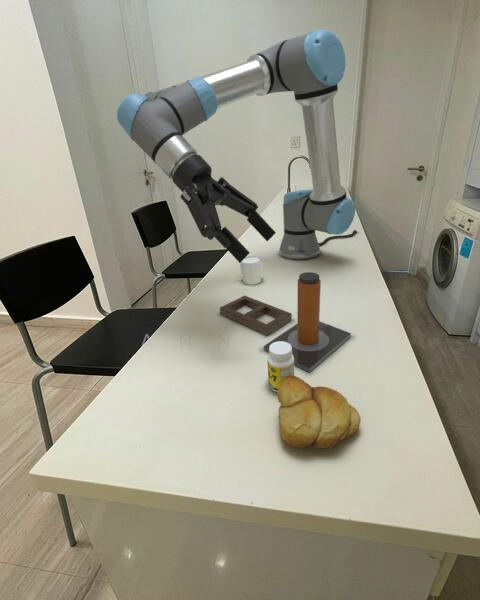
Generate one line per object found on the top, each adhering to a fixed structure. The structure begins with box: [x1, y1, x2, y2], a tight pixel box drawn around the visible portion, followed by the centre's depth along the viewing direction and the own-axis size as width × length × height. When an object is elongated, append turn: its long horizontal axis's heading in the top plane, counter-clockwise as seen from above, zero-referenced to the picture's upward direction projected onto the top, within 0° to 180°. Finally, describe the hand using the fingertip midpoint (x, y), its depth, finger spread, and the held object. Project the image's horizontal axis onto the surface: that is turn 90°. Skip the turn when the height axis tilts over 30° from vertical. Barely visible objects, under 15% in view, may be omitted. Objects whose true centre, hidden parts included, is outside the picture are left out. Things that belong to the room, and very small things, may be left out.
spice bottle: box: [297, 271, 322, 345], centre depth 69 cm, size 5×5×15 cm
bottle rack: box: [219, 295, 293, 337], centre depth 83 cm, size 9×16×2 cm, turn 49°
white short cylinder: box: [239, 256, 263, 286], centre depth 103 cm, size 7×7×7 cm
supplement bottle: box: [267, 341, 295, 393], centre depth 59 cm, size 5×5×8 cm
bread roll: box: [276, 375, 362, 449], centre depth 50 cm, size 13×10×8 cm
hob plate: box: [263, 320, 352, 373], centre depth 73 cm, size 16×12×1 cm
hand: (259, 246), depth 67 cm, fingers open, 13 cm apart
